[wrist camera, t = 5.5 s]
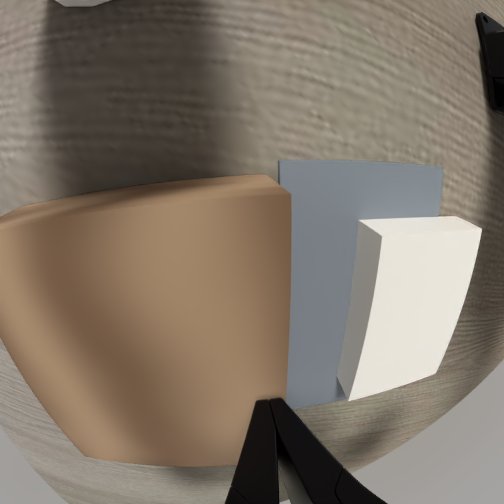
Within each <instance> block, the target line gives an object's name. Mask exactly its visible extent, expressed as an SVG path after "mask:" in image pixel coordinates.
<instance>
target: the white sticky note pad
mask: <svg viewBox="0 0 504 504" xmlns="http://www.w3.org/2000/svg"><path fill="white" fill-rule="evenodd" d="M481 232H482V229H481V228H479V227H477V226H475V225H473V224H471V223H469V222H467V221H465V220H463V219H461V218H459V217H456V216H447V217H415V218H390V219H368V220H358V233H357V244H356V255H355V265H354V274H353V282H352V290H351V297H350V304H349V311H348V317H347V324H346V330H345V336H344V341H343V347H342V352H341V357H340V362H339V367H338V372H337V378H338V380H339V382H340V384H341V386H342V388H343V391H344V393H345V395H346V397H347V399H348V401H351V400H355V399H359V398H362V397H366V396H370V395H373V394H377V393H380V392H384V391H387V390H390V389H393V388H396V387H399V386H402V385H405V384H408V383H411V382H414V381H417V380H420V379H422V378H425V377H428V376H430V375H433V374H435V373H436V371H437V369H438V367H439V365H440V363H441V360H442V358H443V356H444V354H445V351H446V349H447V347H448V344H449V342H450V339H451V337H452V334H453V331H454V329H455V326H456V323H457V321H458V318H459V315H460V312H461V309H462V306H463V303H464V300H465V297H466V294H467V290H468V287H469V283H470V280H471V276H472V272H473V268H474V264H475V260H476V256H477V252H478V247H479V242H480V237H481Z"/></svg>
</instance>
